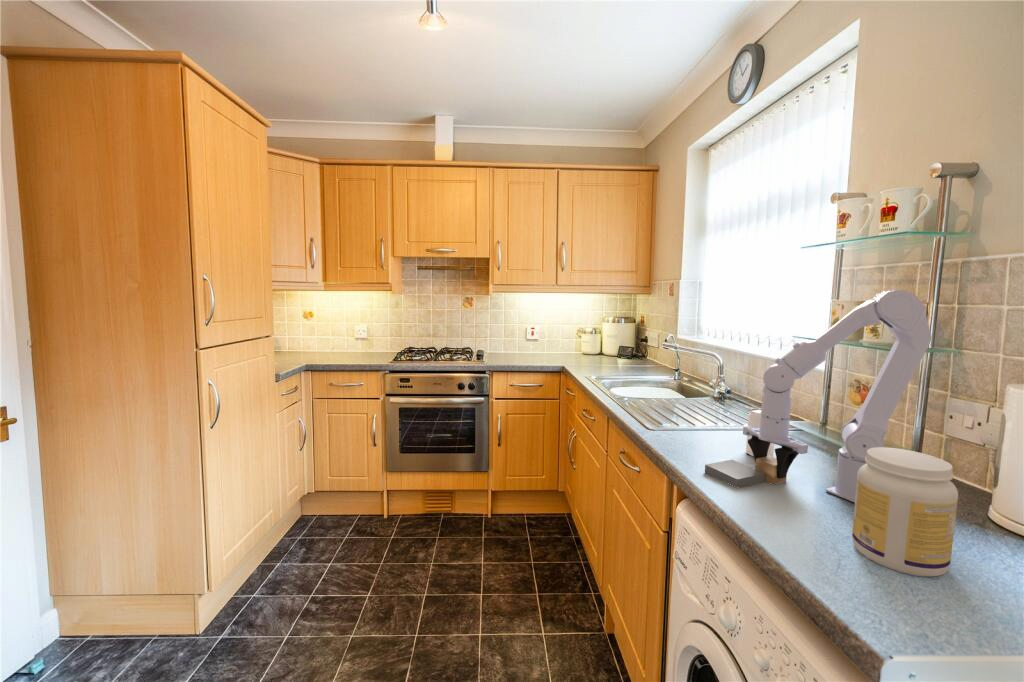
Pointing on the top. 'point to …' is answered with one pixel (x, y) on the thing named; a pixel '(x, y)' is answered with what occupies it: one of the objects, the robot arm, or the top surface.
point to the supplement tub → (905, 511)
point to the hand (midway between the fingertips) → (770, 473)
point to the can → (754, 421)
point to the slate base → (735, 473)
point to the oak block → (769, 469)
